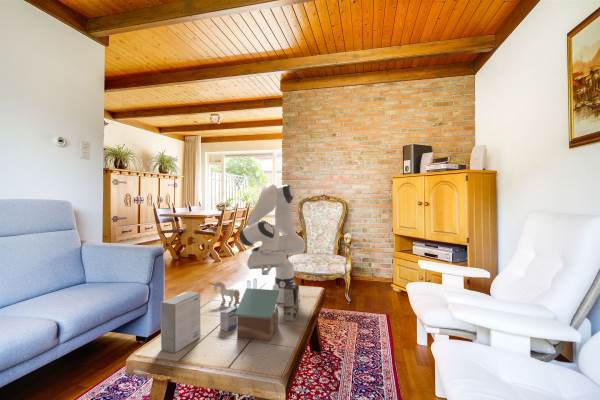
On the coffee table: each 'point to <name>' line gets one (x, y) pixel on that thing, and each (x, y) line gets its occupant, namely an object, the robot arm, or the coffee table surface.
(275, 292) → the lid
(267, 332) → the walnut box
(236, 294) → the unicorn figurine
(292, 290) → the coffee box
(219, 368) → the coffee table surface
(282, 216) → the robot arm
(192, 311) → the hard drive box
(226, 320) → the medicine box
